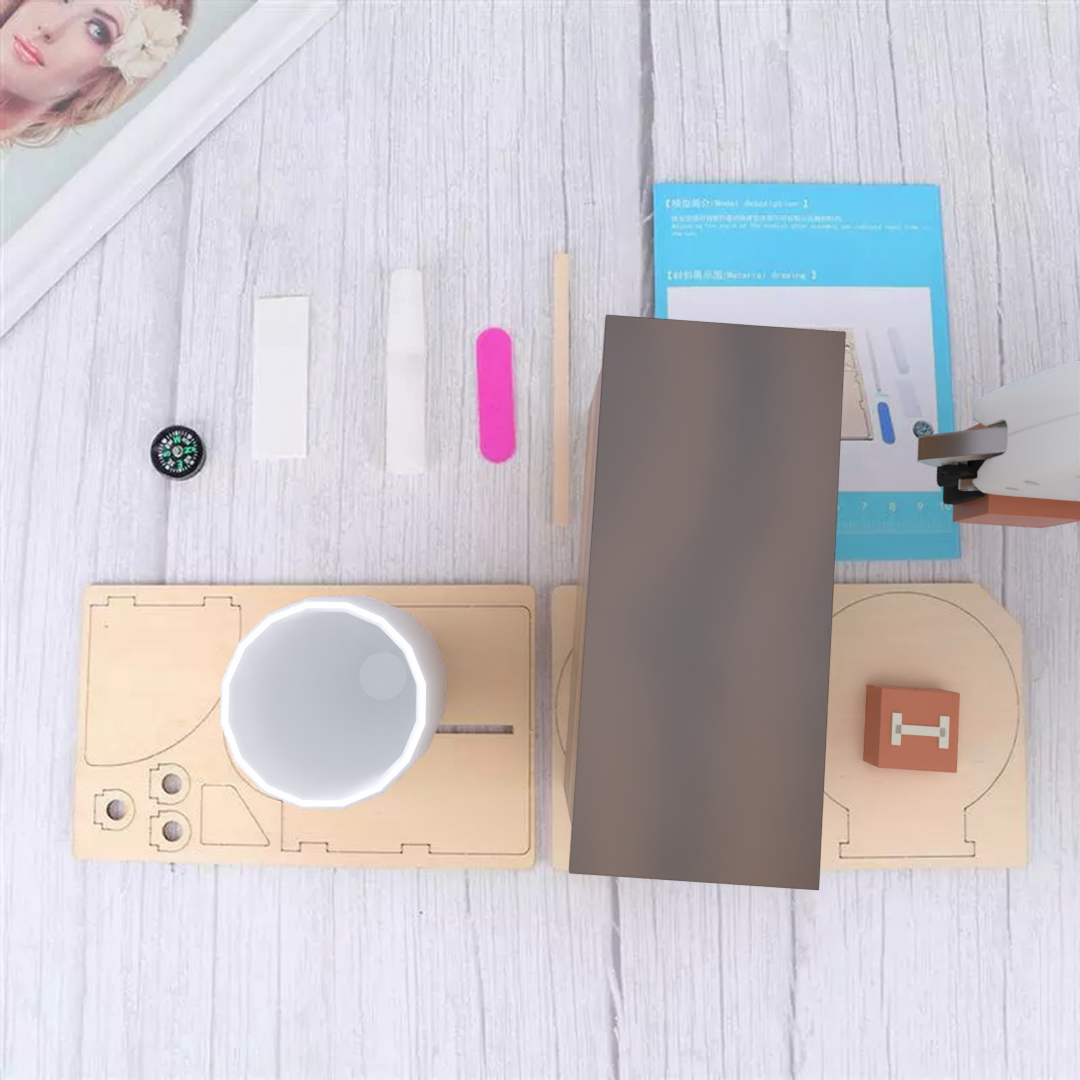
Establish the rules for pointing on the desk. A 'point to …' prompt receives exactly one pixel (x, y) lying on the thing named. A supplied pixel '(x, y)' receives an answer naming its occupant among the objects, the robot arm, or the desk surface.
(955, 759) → the tile
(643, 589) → the word board
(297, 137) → the desk surface
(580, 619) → the stand
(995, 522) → the tile
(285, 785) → the cup
